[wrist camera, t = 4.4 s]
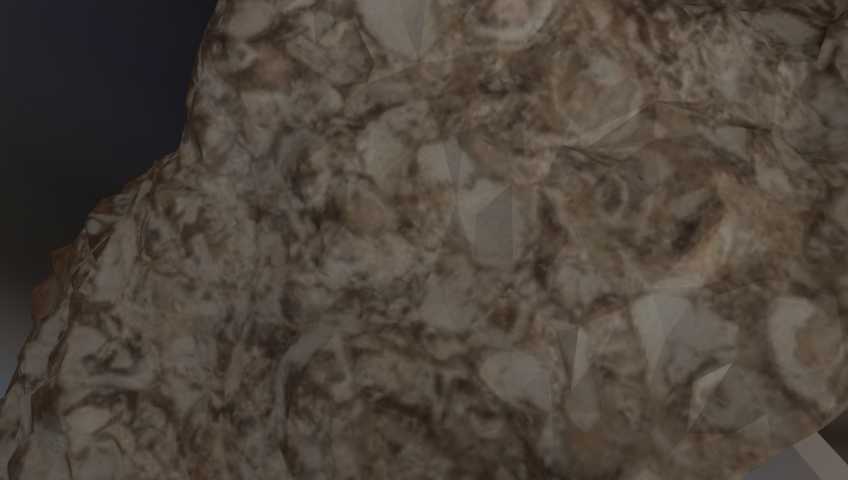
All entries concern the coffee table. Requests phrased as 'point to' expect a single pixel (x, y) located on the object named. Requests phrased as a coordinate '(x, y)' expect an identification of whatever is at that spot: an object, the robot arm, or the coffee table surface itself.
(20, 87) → the coffee table surface
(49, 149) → the coffee table surface
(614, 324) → the rock
